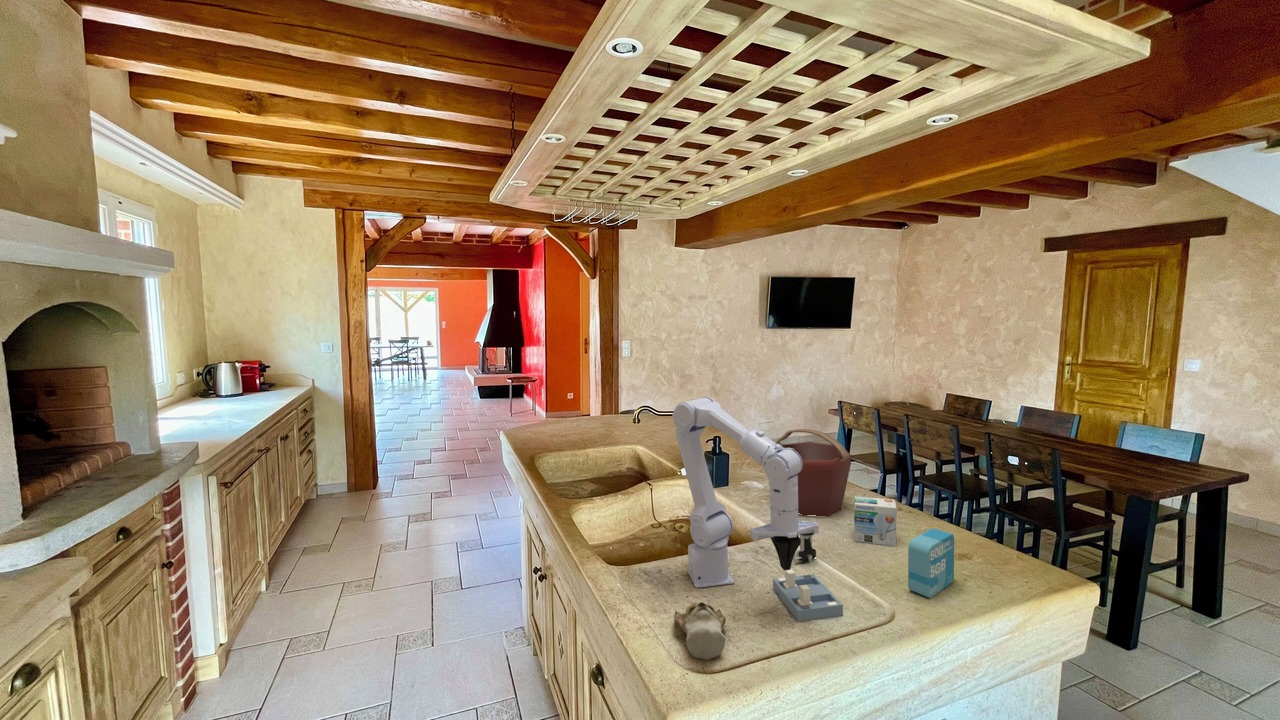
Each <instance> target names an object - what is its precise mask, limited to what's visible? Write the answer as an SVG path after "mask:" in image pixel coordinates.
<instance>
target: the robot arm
mask: <svg viewBox="0 0 1280 720" xmlns="http://www.w3.org/2000/svg"><path fill="white" fill-rule="evenodd" d="M672 418H673V422H674V425H675V426H674V427H675V439H676V441H677V446H678V448H679V453H680V456H681V459H682V463H683V466H684V467H683V468H684V472H685V475H686V478H687V482H688V485H689V489H690V492H691V496H692V500H693V504H694V506H693V509H692V511H691V513H690V515H689V522H690V528H689V529H690V537H691V538H692V541H693V542H694V543H691V544H688V547H687V558H688V559H687V560H688V561H687V562H688V571H687V572H688V575H689V577H690V579H691V581H692V583H693V585H694V587H695V588H696V589H699V588H705V587H706V588H707V587H715V586H722V585H731V584H734V583H735V580H734V578H733V577H732V576H731V574H730V573H729V556H728V555H729V553H728V551H729V550H728V541H730V538H729V537H730V535H731V534H732V533H733V531H734V522H733V520H732V517H731V516H730V515H729V513H728V511H727V509H726V506H725V504H723V503H722V502H720V501H719V500H717V497H716V494H715V489H714V486H713V483H712V478H711V475H710V472H709V467H708V464H707V461H706V458H705V454H704V450H703V447H702V442H701V440H700V439H701V436H702V433H703V432H704V430H705V429H706V428H707V427H714V428H715V429H717V430H719V431H721V433H723V434H724V435H727V436H728V437H729V438H732V440H734V441H736V442H737V443H738V444H739V447H740V450H741V452H742V453H744V454H745V455H747V456H748V457H749V458H751V459H752V460H753V461H755V462H756V463H757V464H759V465H760V466H761V467H763V470H764V471H763V472H764V473H765V475H766V476H767V478H768V485H769V497H770V499H769V504H770V506H769V507H770V523H768V524H764V525H761V526H757V527H753V528H750V538H751V539H752V540H753V541H754V542H756V541H757V542H758V541H759V540H762V539H770V540H771V542H772V544H773V546H774V549H775V550H776V553H777V557H778V560H779V565H780V566H779V567H780V568H781V569H782V570H783V571H785V570H790V569H792V563H793V559H794V558H795V554H796V553H797V551H798V548H800V544H801V539H800V536H799V534H806V533H814V535H817V534H819V524H818V523H816V521H812V522H798V521H799V514H798V475H797V474H798V473H799V472H800V471H801V470H802V467H803V462H802V458H801V456H800V455H799V454H798V453H797V452H796V451H795V450H794V449H792V448H783V447H782V446H781V445H780V444H776V442H775V441H773V440H772V439H771V438H769V437H767V436H766V435H765V434H766V433H765V432H764V431H762V430H757V429H752V430H748V428H746V427H745V426H744V425H743V424H741V423H740V422H739V421H737V420H736V419H735V418H734V417H733V416H731V415H730V414H729V413H727V412H726V411H725V410H724V409H723V408H722V406H721V404H720V402H718V401H715V400H714V399H713V398H712V397H710V396H702V397H701V398H696V399H692V400H687V401H681V402H679V403H677V404H676V406H675V408H674V410H673V412H672ZM795 475H796V476H795Z"/></svg>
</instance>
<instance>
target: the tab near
mask: <svg viewBox="0 0 1280 720" xmlns="http://www.w3.org/2000/svg"><path fill="white" fill-rule="evenodd" d="M812 604H813V603H812V602H811V601H810V588H809V587H808V586H807V585H800V586H799V600H797V605H798V606H804V605H812Z"/></svg>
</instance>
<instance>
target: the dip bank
mask: <svg viewBox="0 0 1280 720" xmlns="http://www.w3.org/2000/svg"><path fill="white" fill-rule="evenodd" d="M783 583H785V577H781V578H780V577H779V578H773V579H772V589H773V591H774V592H775V594H776V595H777V596H778V597H779V599H780V600H781V601H782V602H783V604H784V605H785V607H786V608H787V609H788V610H789V612H790V613H791V615H792V616H793V618H795V620H796V621H797V623H798V622H800V623H801V622H804V621H805V622H807V621H813V620H820V619H829V618H835V617H842V616H844V605H843V603H841V601H840V600H839V599H838V598H837V597H836V596H835V594H833V593H832V592H831V590H829V589H828V587H826V586H825V584H824V583H823V582H822V581H821V580H820V579H819V578H818V576H816V575H815V574H814V573H812V574H805V575H804V574H803V575H795V584H796V585H797V586H798V587H795V588H787V589H783ZM800 585H807V586H808V587H809V588H810V601H811V602H812V603H813V604H812V605H804V606H798V605H797V600H799V586H800Z"/></svg>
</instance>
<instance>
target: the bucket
mask: <svg viewBox="0 0 1280 720" xmlns="http://www.w3.org/2000/svg"><path fill="white" fill-rule="evenodd" d="M793 433H806V434H807V433H808V434H812V435H814V436H818V437H820V438H822V439H823V440H825V441H827V442H828V443H829V444H828V443H821V442H813V441H804V442H803V441H802V442H796V443H786V444H785V443H784V444H782V443H781V442H782V441H785V440H786V439H788V438H789V437H790V436H792V434H793ZM775 443H776V444H780V445H781V446H782V447H783V448H792V449H794V450H795V451H796V452H797V453H798V454H799V455H800V456H801V458H802V462H803V467H802V470H801V471H800V472H799V473H798V474H797V475H798V513H800V514H802V515H816V516H827V517H826V518H829V517H831V516H833V515H835V514H837V513H839V512H841V511H842V509H843V508H842V507H843V502H844V498H845V495H846V489H847V485H848V479H849V475H850V469H851V466H852V454H851V453H850V452H849V451H848V450H846V448H845V447H844V445H843V444H842V443H841V442H839V441H838V440H837V439H835V437H832V436H831V435H828V434H827V433H826V432H822V431H819V430H814V429H809V428H807V429H806V428H797V429H792V430H791V429H790V430H786V432H785V433H784V434H783V435H781V436H780V437H779V438H778V439H777V440H776V442H775ZM795 476H796V475H795ZM834 513H835V514H834ZM832 514H833V515H832ZM830 515H831V516H830ZM828 516H829V517H828Z"/></svg>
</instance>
